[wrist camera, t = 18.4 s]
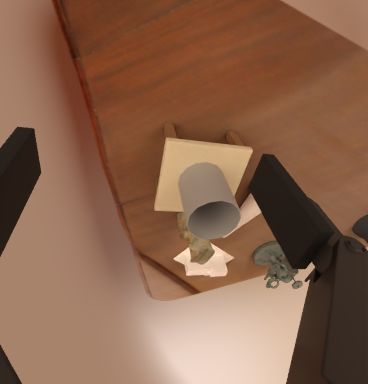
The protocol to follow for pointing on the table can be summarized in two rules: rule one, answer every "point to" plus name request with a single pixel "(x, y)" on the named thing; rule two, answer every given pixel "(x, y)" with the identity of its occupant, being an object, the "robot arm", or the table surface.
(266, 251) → the figurine
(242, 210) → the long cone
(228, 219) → the cup
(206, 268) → the napkin holder
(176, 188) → the side table
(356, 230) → the mug
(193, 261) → the sculpture
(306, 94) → the table surface
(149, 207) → the table surface
